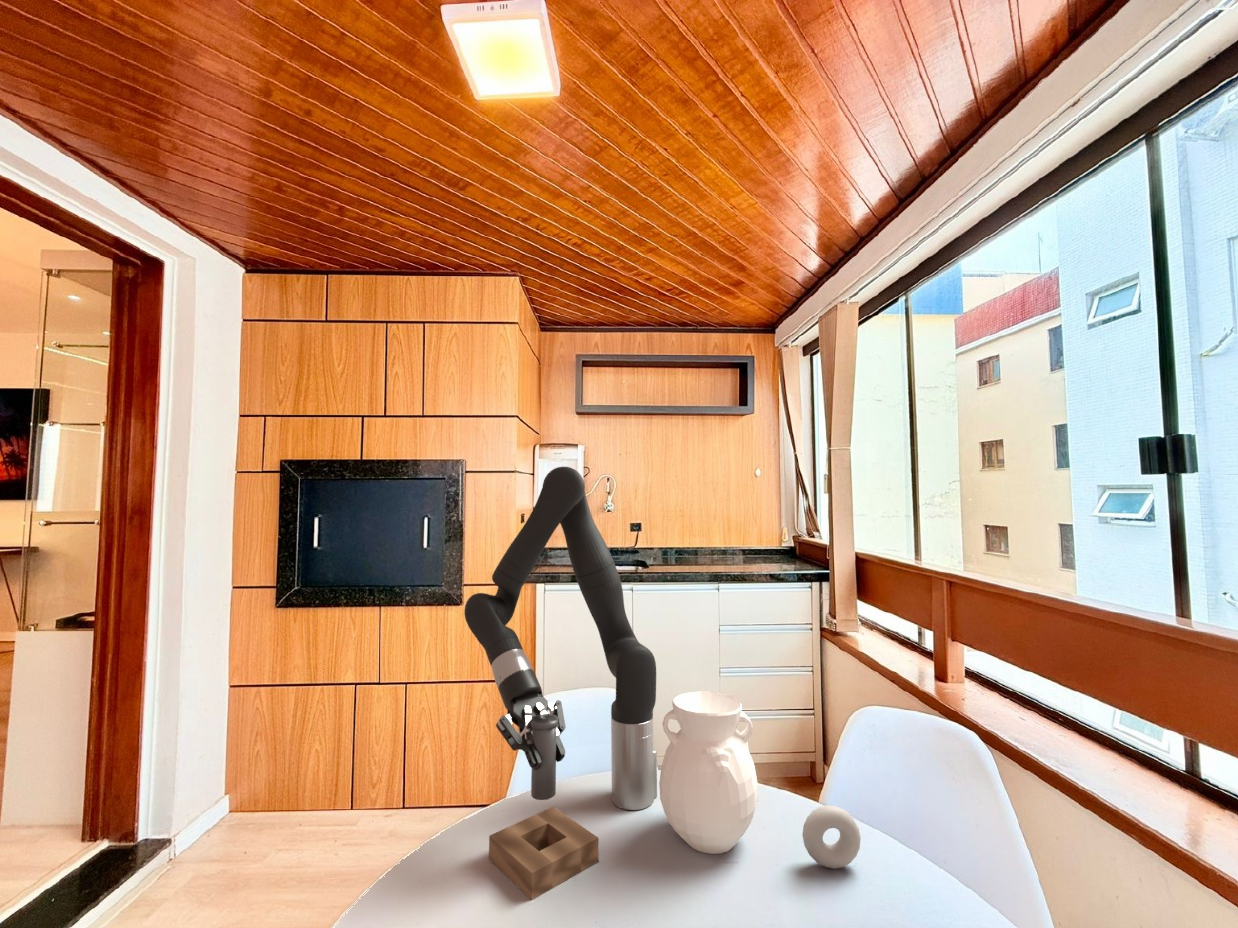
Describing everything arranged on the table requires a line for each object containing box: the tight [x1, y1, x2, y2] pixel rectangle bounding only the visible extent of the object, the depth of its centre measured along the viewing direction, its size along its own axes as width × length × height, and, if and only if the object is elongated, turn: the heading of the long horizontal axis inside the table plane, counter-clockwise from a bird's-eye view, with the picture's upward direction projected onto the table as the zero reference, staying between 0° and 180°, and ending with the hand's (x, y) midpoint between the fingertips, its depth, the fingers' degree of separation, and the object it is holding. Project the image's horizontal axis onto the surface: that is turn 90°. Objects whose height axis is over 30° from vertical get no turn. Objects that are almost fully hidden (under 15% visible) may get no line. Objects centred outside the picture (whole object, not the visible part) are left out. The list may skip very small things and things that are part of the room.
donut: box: [802, 804, 862, 870], centre depth 93 cm, size 10×4×10 cm, turn 90°
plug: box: [530, 713, 558, 801], centre depth 96 cm, size 5×5×13 cm
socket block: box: [488, 806, 600, 901], centre depth 95 cm, size 14×14×4 cm
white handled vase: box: [658, 690, 759, 855], centre depth 102 cm, size 19×18×25 cm
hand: (550, 762), depth 95 cm, fingers closed on plug, 4 cm apart
